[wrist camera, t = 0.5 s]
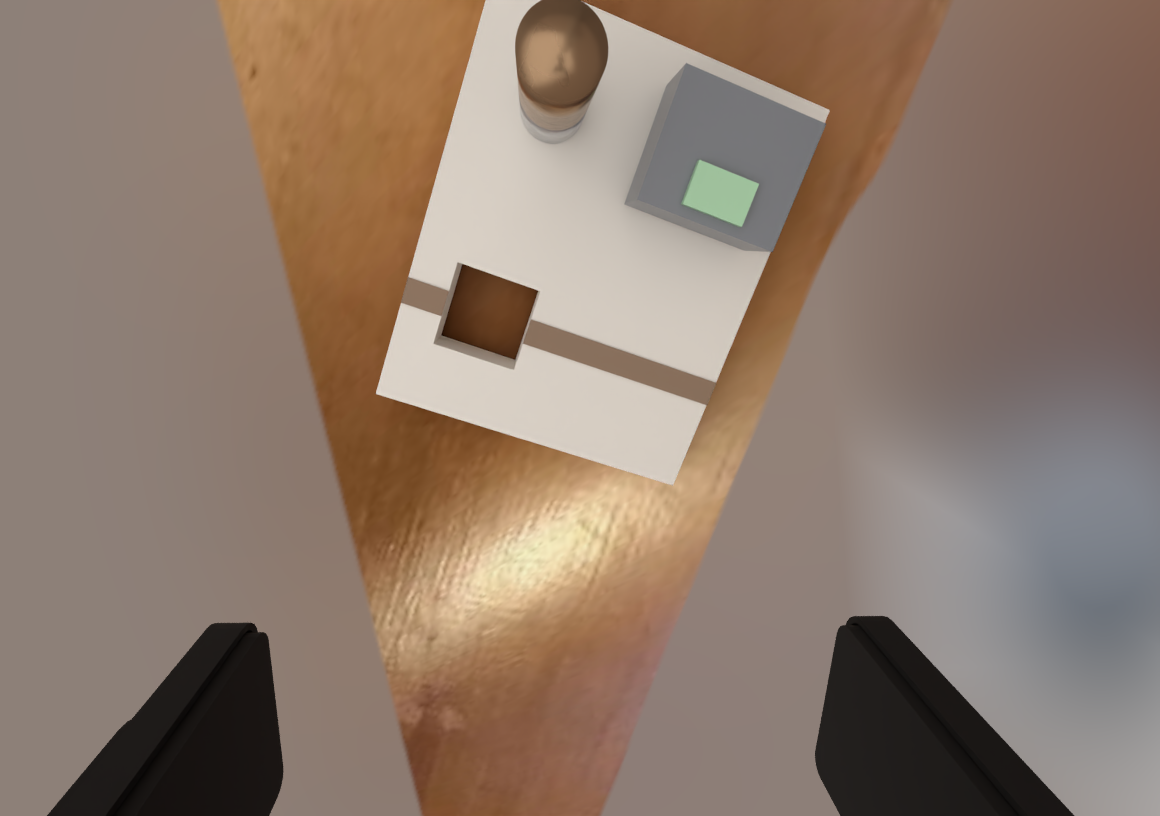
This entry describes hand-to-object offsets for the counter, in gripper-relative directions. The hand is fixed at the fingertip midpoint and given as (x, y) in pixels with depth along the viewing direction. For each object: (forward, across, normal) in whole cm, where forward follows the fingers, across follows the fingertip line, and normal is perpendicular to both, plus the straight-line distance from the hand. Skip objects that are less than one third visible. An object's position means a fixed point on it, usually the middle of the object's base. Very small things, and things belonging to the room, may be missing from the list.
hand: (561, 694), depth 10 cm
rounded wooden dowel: (+25, 0, -13) cm, 28 cm away
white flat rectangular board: (+28, -3, -6) cm, 29 cm away
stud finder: (+25, -8, -11) cm, 28 cm away
